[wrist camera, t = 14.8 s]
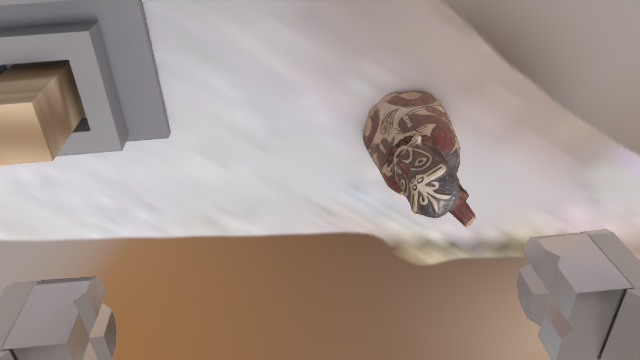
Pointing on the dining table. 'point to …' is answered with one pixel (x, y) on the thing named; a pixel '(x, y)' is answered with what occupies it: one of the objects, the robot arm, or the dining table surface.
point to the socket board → (120, 52)
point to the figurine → (418, 154)
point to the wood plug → (37, 110)
